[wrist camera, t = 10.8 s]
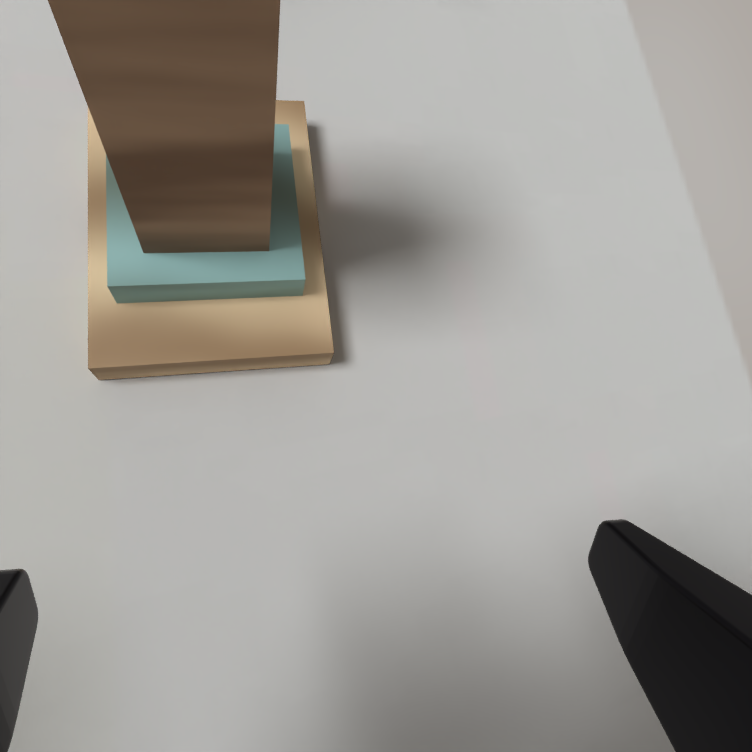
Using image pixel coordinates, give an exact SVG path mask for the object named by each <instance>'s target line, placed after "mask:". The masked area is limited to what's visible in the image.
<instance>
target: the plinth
mask: <svg viewBox="0 0 752 752" xmlns="http://www.w3.org/2000/svg"><path fill="white" fill-rule="evenodd" d="M333 354H334V349H333V341H332V332H331V324H330V315H329V307H328V299H327V290H326V282H325V273H324V265H323V257H322V248H321V240H320V231H319V223H318V215H317V206H316V198H315V189H314V181H313V172H312V164H311V156H310V147H309V139H308V130H307V122H306V114H305V105H304V101H282V100H276V107H275V130H274V153H273V176H272V199H271V222H270V244H269V251H256V252H195V253H143V250H142V248H141V245H140V242H139V240H138V237H137V235H136V232H135V229H134V227H133V224H132V221H131V219H130V216H129V213H128V211H127V208H126V205H125V203H124V200H123V197H122V195H121V192H120V190H119V187H118V184H117V182H116V179H115V176H114V174H113V171H112V168H111V166H110V163H109V160H108V158H107V155H106V153H105V150H104V147H103V145H102V142H101V139H100V137H99V134H98V131H97V129H96V126H95V123H94V121H93V118H92V115H91V113H90V110H89V108H88V369H89V370H90V371H91V372H92V373H93V374H94V375H95V376H96V377H97V379H98V380H106V379H121V378H135V377H150V376H164V375H179V374H193V373H208V372H223V371H237V370H252V369H266V368H281V367H296V366H310V365H325V364H330V361H331V359H332V356H333Z"/></svg>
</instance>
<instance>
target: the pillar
mask: <svg viewBox="0 0 752 752" xmlns="http://www.w3.org/2000/svg"><path fill="white" fill-rule="evenodd" d="M48 2H49V4H50V7H51V10H52V12H53V15H54V18H55V20H56V23H57V26H58V28H59V31H60V33H61V36H62V39H63V41H64V44H65V47H66V49H67V52H68V55H69V57H70V60H71V63H72V65H73V68H74V71H75V73H76V76H77V78H78V81H79V84H80V86H81V89H82V92H83V94H84V97H85V100H86V102H87V105H88V108H89V110H90V113H91V115H92V118H93V121H94V123H95V126H96V129H97V131H98V134H99V137H100V139H101V142H102V145H103V147H104V150H105V153H106V155H107V158H108V160H109V163H110V166H111V168H112V171H113V174H114V176H115V179H116V182H117V184H118V187H119V190H120V192H121V195H122V197H123V200H124V203H125V205H126V208H127V211H128V213H129V216H130V219H131V221H132V224H133V227H134V229H135V232H136V235H137V237H138V240H139V242H140V245H141V248H142V250H143V253H195V252H256V251H269V244H270V222H271V199H272V176H273V153H274V130H275V107H276V84H277V61H278V38H279V15H280V0H48Z"/></svg>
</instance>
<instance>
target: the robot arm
mask: <svg viewBox="0 0 752 752" xmlns="http://www.w3.org/2000/svg"><path fill="white" fill-rule="evenodd" d="M588 563H589V568H590V571H591V574H592V576H593V578H594V581H595V583H596V586H597V588H598V591H599V593H600V596H601V598H602V601H603V603H604V605H605V608H606V610H607V613H608V615H609V618H610V620H611V623H612V625H613V628H614V630H615V632H616V635H617V637H618V640H619V642H620V644H621V646H622V649H623V651H624V653H625V655H626V657H627V659H628V661H629V663H630V665H631V667H632V669H633V671H634V673H635V675H636V677H637V679H638V681H639V683H640V685H641V686H642V688H643V690H644V692H645V694H646V696H647V698H648V700H649V702H650V704H651V706H652V708H653V709H654V711H655V713H656V715H657V717H658V719H659V721H660V723H661V725H662V727H663V729H664V730H665V732H666V734H667V736H668V738H669V740H670V742H671V744H672V746H673V748H674V750H675V751H676V752H752V595H751V594H749V593H748V592H746V591H744V590H743V589H741V588H739V587H738V586H736V585H734V584H733V583H731V582H729V581H728V580H726V579H724V578H723V577H721V576H719V575H718V574H716V573H714V572H713V571H711V570H709V569H707V568H706V567H704V566H702V565H701V564H699V563H697V562H696V561H694V560H692V559H691V558H689V557H687V556H686V555H684V554H682V553H681V552H679V551H677V550H676V549H674V548H672V547H671V546H669V545H667V544H666V543H664V542H662V541H661V540H659V539H657V538H656V537H654V536H652V535H651V534H649V533H647V532H646V531H644V530H642V529H641V528H639V527H637V526H636V525H634V524H632V523H631V522H629V521H627V520H622V519H620V520H607V521H603V522H602V523H601V524H600V525H599V527H598V529H597V532H596V535H595V538H594V541H593V544H592V546H591V549H590V552H589V557H588ZM37 623H38V608H37V604H36V601H35V597H34V594H33V590H32V587H31V583H30V579H29V576H28V574H27V572H26V571H25V570H23V569H12V570H0V752H8V749H9V746H10V743H11V739H12V736H13V732H14V728H15V724H16V719H17V715H18V711H19V706H20V701H21V697H22V692H23V688H24V683H25V679H26V674H27V670H28V665H29V660H30V656H31V651H32V647H33V642H34V638H35V633H36V629H37Z"/></svg>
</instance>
